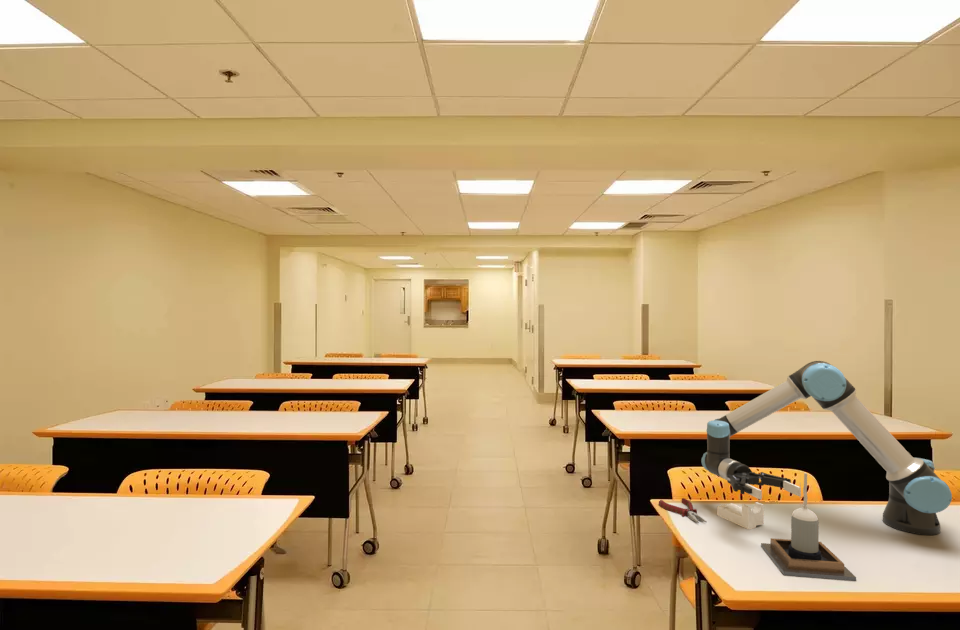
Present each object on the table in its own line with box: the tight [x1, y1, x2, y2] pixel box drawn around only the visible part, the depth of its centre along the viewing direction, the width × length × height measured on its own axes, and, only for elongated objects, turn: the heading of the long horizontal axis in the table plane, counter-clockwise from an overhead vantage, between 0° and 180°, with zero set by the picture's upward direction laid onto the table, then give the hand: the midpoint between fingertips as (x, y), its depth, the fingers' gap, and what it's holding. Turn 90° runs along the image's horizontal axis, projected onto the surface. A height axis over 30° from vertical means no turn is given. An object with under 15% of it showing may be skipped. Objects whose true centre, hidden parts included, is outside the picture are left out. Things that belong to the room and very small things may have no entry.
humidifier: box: [788, 472, 821, 561], centre depth 153 cm, size 8×8×25 cm
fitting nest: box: [760, 537, 857, 582], centre depth 153 cm, size 18×18×4 cm
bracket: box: [716, 501, 765, 530], centre depth 183 cm, size 13×7×8 cm, turn 22°
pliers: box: [658, 497, 708, 524], centre depth 190 cm, size 12×20×3 cm, turn 11°
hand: (780, 493), depth 162 cm, fingers open, 13 cm apart
